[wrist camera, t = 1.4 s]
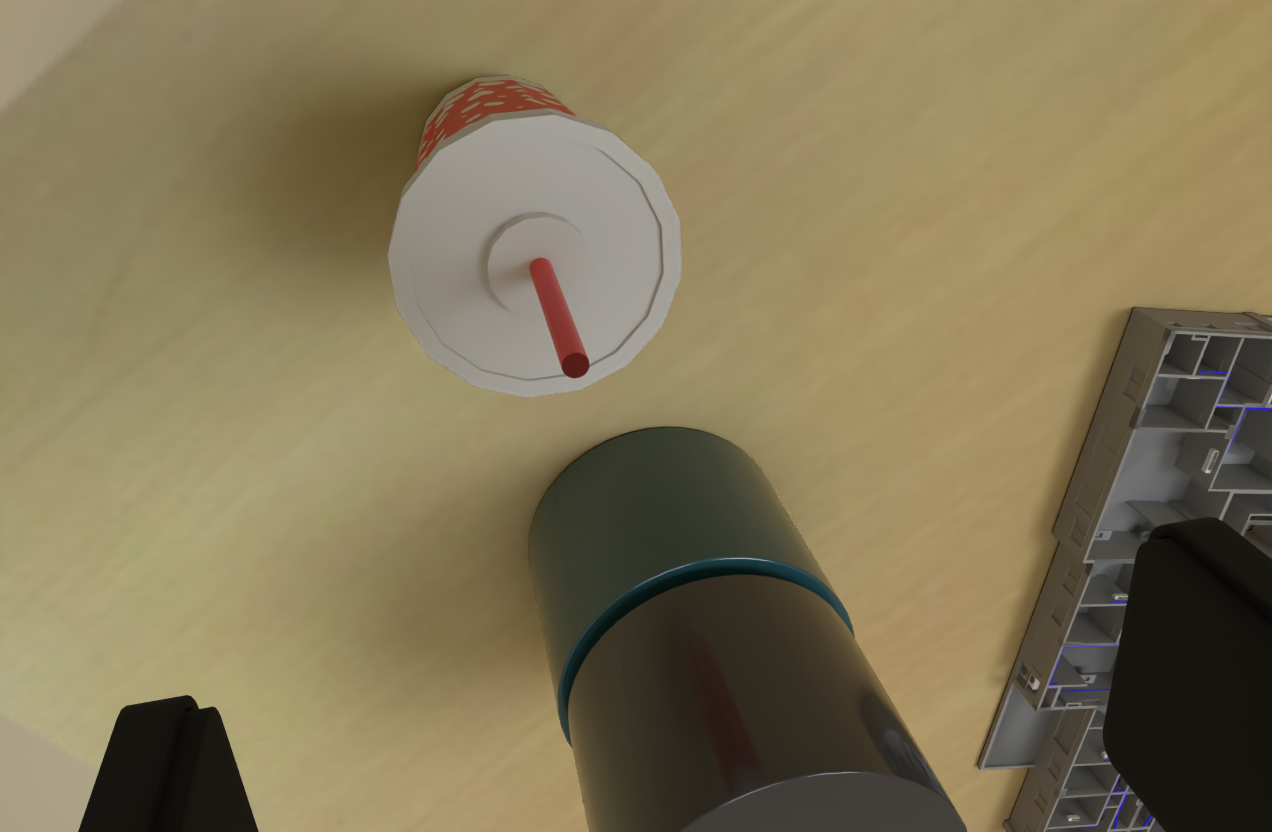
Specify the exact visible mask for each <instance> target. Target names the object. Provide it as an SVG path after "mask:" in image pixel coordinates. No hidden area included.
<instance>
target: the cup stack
mask: <svg viewBox="0 0 1272 832" xmlns="http://www.w3.org/2000/svg"><path fill="white" fill-rule="evenodd" d="M528 549H529V563H530V568H531V574H532V579H533V584H534V589H535V595H536V600H537V605H538V610H539V616H540V621H541V626H542V631H543V637H544V642H545V647H546V652H547V658H548V663H549V668H550V673H551V679H552V684H553V689H554V694H555V700H556V705H557V710H558V715H559V719H560V724H561V728H562V730H563V732H564V735H565V737H566V740H567V742H568V743H569V745H570V746H571V748H572V749H573V754H574V759H575V764H576V769H577V774H578V779H579V784H580V789H581V794H582V799H583V804H584V809H585V814H586V819H587V824H588V829H589V832H967V829H966V826H965V824H964V822H963V821H962V819H961V817H960V816H959V814H958V812H957V811H956V809H955V807H954V806H953V804H952V802H951V800H950V799H949V797H948V795H947V794H946V792H945V790H944V789H943V787H942V785H941V784H940V782H939V780H938V778H937V777H936V775H935V773H934V772H933V770H932V768H931V767H930V765H929V763H928V762H927V760H926V758H925V757H924V755H923V753H922V751H921V750H920V748H919V746H918V745H917V743H916V741H915V740H914V738H913V736H912V735H911V733H910V731H909V730H908V728H907V726H906V724H905V723H904V721H903V719H902V718H901V716H900V714H899V713H898V711H897V709H896V708H895V706H894V704H893V702H892V701H891V699H890V697H889V696H888V694H887V692H886V691H885V689H884V687H883V686H882V684H881V682H880V681H879V679H878V677H877V675H876V674H875V672H874V670H873V669H872V667H871V665H870V664H869V662H868V660H867V659H866V657H865V655H864V654H863V652H862V650H861V648H860V647H859V645H858V643H857V642H856V640H855V636H854V631H853V626H852V623H851V621H850V618H849V616H848V613H847V611H846V609H845V608H844V606H843V604H842V603H841V601H840V599H839V598H838V596H837V594H836V593H835V591H834V589H833V588H832V586H831V584H830V583H829V581H828V579H827V578H826V576H825V574H824V573H823V571H822V570H821V568H820V566H819V565H818V563H817V561H816V560H815V558H814V556H813V555H812V553H811V551H810V550H809V548H808V546H807V545H806V543H805V541H804V540H803V538H802V536H801V535H800V533H799V531H798V530H797V528H796V526H795V525H794V523H793V521H792V520H791V518H790V516H789V515H788V513H787V511H786V510H785V508H784V507H783V505H782V503H781V502H780V500H779V498H778V497H777V495H776V493H775V492H774V490H773V488H772V487H771V485H770V483H769V482H768V480H767V478H766V477H765V475H764V473H763V472H762V470H761V469H760V468H759V466H758V465H757V464H756V463H755V462H754V461H753V459H752V458H751V457H749V456H748V455H747V454H746V453H745V452H743V451H742V450H741V449H740V448H738V447H736V446H735V445H733V444H732V443H730V442H728V441H726V440H724V439H722V438H719V437H717V436H715V435H712V434H708V433H705V432H701V431H698V430H691V429H685V428H656V429H647V430H642V431H637V432H632V433H629V434H626V435H623V436H620V437H617V438H614V439H612V440H610V441H608V442H605V443H603V444H601V445H599V446H597V447H596V448H594V449H592V450H591V451H589V452H587V453H586V454H584V455H583V456H581V457H580V458H579V459H578V460H576V461H575V462H574V463H572V464H571V465H570V466H569V467H568V468H567V469H566V470H565V471H564V472H563V473H562V474H561V475H560V476H559V477H558V478H557V479H556V481H555V482H554V483H553V484H552V486H551V487H550V488H549V490H548V491H547V493H546V494H545V496H544V498H543V500H542V501H541V503H540V505H539V507H538V509H537V512H536V514H535V517H534V519H533V523H532V527H531V531H530V537H529V547H528Z"/></svg>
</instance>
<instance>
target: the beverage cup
mask: <svg viewBox="0 0 1272 832" xmlns="http://www.w3.org/2000/svg"><path fill="white" fill-rule="evenodd" d="M388 260H389V266H390V272H391V277H392V283H393V288H394V294H395V300H396V305H397V311H398V312H399V314H400V315H401V317H402V318H403V320H404V321H405V323H406V324H407V326H408V327H409V329H410V330H411V332H412V333H413V335H414V336H415V338H416V339H417V341H418V342H419V344H420V345H421V347H422V348H423V350H424V351H425V352H426V354H427V355H428V357H430V358H431V359H433V360H434V361H436V362H437V363H439V364H440V365H442V366H443V367H445V368H446V369H448V370H449V371H451V372H452V373H454V374H455V375H457V376H458V377H460V378H461V379H463V380H464V381H466V382H468V383H469V384H471V385H472V386H474V387H478V388H483V389H488V390H492V391H497V392H501V393H506V394H511V395H515V396H520V397H524V398H530V397H537V396H544V395H551V394H558V393H565V392H572V391H579V390H582V389H584V388H586V387H587V386H589V385H591V384H593V383H595V382H597V381H599V380H601V379H602V378H604V377H606V376H608V375H610V374H612V373H614V372H615V371H617V370H619V369H621V368H623V367H625V366H627V365H628V364H629V363H630V362H631V361H632V360H633V358H634V357H635V356H636V355H637V354H638V353H639V352H640V351H641V349H642V348H643V347H644V346H645V345H646V344H647V343H648V342H649V340H650V339H651V338H652V337H653V336H654V335H655V334H656V332H657V331H658V330H659V329H660V328H661V327H662V326H663V324H664V322H665V319H666V316H667V314H668V311H669V308H670V305H671V303H672V300H673V297H674V295H675V292H676V289H677V286H678V284H679V281H680V278H681V276H682V262H681V237H680V219H679V217H678V215H677V213H676V211H675V209H674V207H673V205H672V203H671V201H670V199H669V197H668V194H667V192H666V190H665V188H664V186H663V184H662V182H661V180H660V178H659V176H658V174H657V172H656V170H655V169H654V167H653V166H651V165H650V164H649V163H648V162H647V161H646V160H645V159H643V158H642V157H641V156H640V155H639V154H638V153H636V152H635V151H634V150H633V149H632V148H631V147H629V146H628V145H627V144H626V143H625V142H624V141H622V140H621V139H620V138H619V137H618V136H617V135H615V134H614V133H613V132H612V131H611V130H610V129H608V128H607V127H606V126H605V125H602V124H599V123H596V122H592V121H589V120H586V119H583V118H580V117H577V116H576V115H575V114H574V113H572V112H571V111H570V110H569V109H568V108H567V107H565V106H564V105H563V104H562V103H561V102H560V101H558V100H557V99H556V98H555V97H554V96H553V95H551V94H550V93H549V92H548V91H547V90H545V89H544V88H543V87H542V86H541V85H539V84H535V83H532V82H529V81H526V80H523V79H520V78H517V77H513V76H510V75H503V76H493V77H483V78H475V79H473V80H471V81H470V82H468V83H466V84H464V85H462V86H460V87H459V88H457V89H455V90H453V91H451V92H450V93H448V94H446V95H445V97H444V98H443V99H442V101H441V102H440V103H439V105H438V106H437V107H436V108H435V110H434V111H433V112H432V114H431V115H430V116H429V118H428V119H427V120H426V124H425V128H424V132H423V136H422V140H421V144H420V148H419V152H418V157H417V162H416V167H415V173H414V175H413V176H412V177H411V179H410V180H409V181H408V183H407V184H406V185H405V186H404V188H403V190H402V194H401V198H400V202H399V206H398V210H397V214H396V218H395V222H394V226H393V230H392V234H391V238H390V242H389V247H388Z"/></svg>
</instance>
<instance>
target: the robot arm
mask: <svg viewBox="0 0 1272 832" xmlns="http://www.w3.org/2000/svg"><path fill="white" fill-rule="evenodd" d="M1102 736H1103V744H1104V747H1105V751H1106V754H1107V756H1108V758H1109V760H1110V762H1111V764H1112V765H1113V767H1114V768H1115V769H1116V771H1117V772H1118V773H1119V774H1120V776H1121V777H1122V778H1123V779H1124V781H1125V782H1126V783H1127V784H1128V786H1129V787H1130V788H1131V789H1132V791H1133V792H1134V793H1135V794H1136V796H1137V797H1138V798H1139V799H1140V801H1141V802H1142V803H1143V804H1144V806H1145V807H1146V808H1147V810H1148V811H1149V812H1150V813H1151V815H1152V816H1153V817H1154V818H1155V820H1156V821H1157V822H1158V823H1159V825H1160V826H1161V827H1162V828H1163V830H1164V831H1165V832H1272V559H1271V558H1270V557H1268V556H1267V555H1266V554H1265V553H1263V552H1262V551H1261V550H1260V549H1258V548H1257V547H1256V546H1254V545H1253V544H1252V543H1251V542H1249V541H1248V540H1247V539H1246V538H1244V537H1243V536H1242V535H1240V534H1239V533H1238V532H1237V531H1235V530H1234V529H1233V528H1232V527H1230V526H1229V525H1228V524H1226V523H1225V522H1223V521H1221V520H1220V519H1218V518H1214V517H1204V518H1198V519H1192V520H1186V521H1181V522H1175V523H1169V524H1164V525H1160V526H1158V527H1155V528H1154V530H1153V531H1152V532H1151V533H1150V535H1149V538H1148V541H1147V542H1145V543H1142V544H1141V545H1140V547H1139V548H1138V551H1137V554H1136V558H1135V563H1134V568H1133V574H1132V579H1131V584H1130V589H1129V595H1128V600H1127V605H1126V610H1125V615H1124V621H1123V626H1122V631H1121V636H1120V642H1119V647H1118V652H1117V657H1116V663H1115V668H1114V673H1113V678H1112V684H1111V689H1110V694H1109V699H1108V705H1107V710H1106V715H1105V720H1104V726H1103V735H1102ZM78 832H258V829H257V826H256V822H255V819H254V816H253V813H252V810H251V807H250V804H249V801H248V798H247V795H246V792H245V789H244V786H243V783H242V780H241V777H240V774H239V771H238V767H237V764H236V761H235V758H234V755H233V752H232V749H231V746H230V743H229V740H228V737H227V734H226V731H225V728H224V725H223V722H222V719H221V716H220V714H219V711H218V710H217V709H216V708H215V707H209V708H203V709H199V708H198V706H197V703H196V701H195V700H194V699H193V698H192V696H188V695H185V696H180V697H174V698H168V699H163V700H157V701H151V702H145V703H140V704H134V705H128V706H125V707H124V708H123V709H122V710H121V711H120V713H119V715H118V718H117V720H116V723H115V726H114V729H113V732H112V735H111V738H110V741H109V743H108V746H107V749H106V752H105V755H104V758H103V761H102V764H101V767H100V770H99V773H98V776H97V779H96V781H95V784H94V787H93V790H92V793H91V796H90V799H89V802H88V805H87V808H86V811H85V814H84V817H83V820H82V822H81V825H80V828H79V831H78Z"/></svg>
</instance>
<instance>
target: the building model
mask: <svg viewBox="0 0 1272 832" xmlns="http://www.w3.org/2000/svg"><path fill="white" fill-rule="evenodd" d="M1204 517H1214V518H1218V519H1220V520H1221V521H1223V522H1225V523H1226V524H1228V525H1229V526H1230V527H1232V528H1233V529H1234V530H1235V531H1237V532H1238V533H1239V534H1240V535H1242V536H1243V537H1244V538H1246V539H1247V540H1248V541H1249V542H1251V543H1252V544H1253V545H1254V546H1256V547H1257V548H1258V549H1260V550H1261V551H1262V552H1263V553H1265V554H1266V555H1267V556H1268V557H1270V558H1271V559H1272V316H1262V315H1259V314H1257V313H1248V312H1245V313H1244V314H1230V313H1214V312H1198V311H1182V310H1166V309H1150V308H1134V309H1133V312H1132V315H1131V317H1130V320H1129V323H1128V326H1127V328H1126V331H1125V334H1124V337H1123V339H1122V342H1121V345H1120V348H1119V350H1118V353H1117V356H1116V359H1115V361H1114V364H1113V367H1112V370H1111V372H1110V375H1109V378H1108V381H1107V383H1106V386H1105V389H1104V392H1103V394H1102V397H1101V400H1100V403H1099V406H1098V408H1097V411H1096V414H1095V417H1094V419H1093V422H1092V425H1091V428H1090V430H1089V433H1088V436H1087V439H1086V441H1085V444H1084V447H1083V450H1082V452H1081V455H1080V458H1079V461H1078V463H1077V466H1076V469H1075V472H1074V474H1073V477H1072V480H1071V483H1070V485H1069V488H1068V491H1067V494H1066V497H1065V499H1064V502H1063V505H1062V508H1061V510H1060V513H1059V516H1058V519H1057V521H1056V524H1055V527H1054V530H1053V532H1052V534H1053V535H1054V536H1055V537H1056V538H1057V539H1058V540H1059V541H1060V543H1059V546H1058V548H1057V551H1056V554H1055V557H1054V559H1053V562H1052V565H1051V567H1050V570H1049V573H1048V576H1047V578H1046V581H1045V584H1044V586H1043V589H1042V592H1041V595H1040V597H1039V600H1038V603H1037V605H1036V608H1035V611H1034V614H1033V616H1032V619H1031V622H1030V624H1029V627H1028V630H1027V633H1026V635H1025V638H1024V641H1023V643H1022V646H1021V649H1020V652H1019V654H1018V657H1017V660H1016V663H1015V665H1014V668H1013V671H1012V673H1011V676H1010V679H1009V682H1008V684H1007V687H1006V690H1005V692H1004V695H1003V698H1002V701H1001V703H1000V706H999V709H998V711H997V714H996V717H995V720H994V722H993V725H992V728H991V730H990V733H989V736H988V739H987V741H986V744H985V747H984V749H983V752H982V755H981V758H980V760H979V763H978V766H977V767H978V768H979V770H996V769H1013V768H1030V769H1029V772H1028V774H1027V777H1026V779H1025V782H1024V784H1023V787H1022V789H1021V792H1020V795H1019V797H1018V800H1017V802H1016V805H1015V807H1014V810H1013V812H1012V815H1011V817H1010V820H1007V821H1005V823H1004V826H1003V827H1004V828H1005V830H1006V832H1165V831H1164V830H1163V828H1162V827H1161V826H1160V825H1159V823H1158V822H1157V821H1156V820H1155V818H1154V817H1153V816H1152V815H1151V813H1150V812H1149V811H1148V810H1147V808H1146V807H1145V806H1144V804H1143V803H1142V802H1141V801H1140V799H1139V798H1138V797H1137V796H1136V794H1135V793H1134V792H1133V791H1132V789H1131V788H1130V787H1129V786H1128V784H1127V783H1126V782H1125V781H1124V779H1123V778H1122V777H1121V776H1120V774H1119V773H1118V772H1117V771H1116V769H1115V768H1114V767H1113V765H1112V764H1111V762H1110V760H1109V758H1108V756H1107V754H1106V751H1105V747H1104V744H1103V736H1102V735H1103V726H1104V720H1105V715H1106V710H1107V705H1108V699H1109V694H1110V689H1111V684H1112V678H1113V673H1114V668H1115V663H1116V657H1117V652H1118V647H1119V642H1120V636H1121V631H1122V626H1123V621H1124V615H1125V610H1126V605H1127V600H1128V595H1129V589H1130V584H1131V579H1132V574H1133V568H1134V563H1135V558H1136V554H1137V551H1138V548H1139V547H1140V545H1141V544H1142V543H1145V542H1147V541H1148V538H1149V535H1150V533H1151V532H1152V531H1153V530H1154V528H1155V527H1158V526H1160V525H1164V524H1169V523H1175V522H1181V521H1186V520H1192V519H1198V518H1204ZM1248 525H1253V527H1252V529H1251V531H1246V529H1247V527H1248Z"/></svg>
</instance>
